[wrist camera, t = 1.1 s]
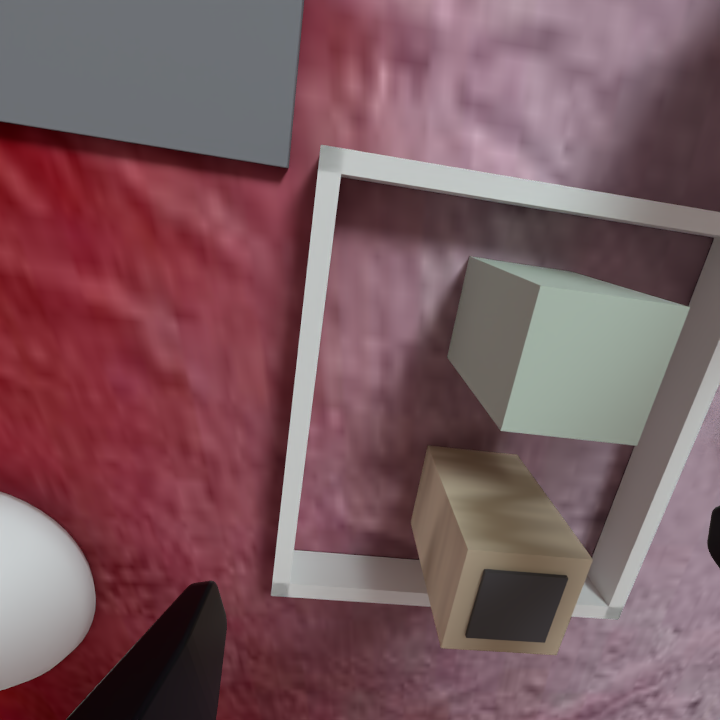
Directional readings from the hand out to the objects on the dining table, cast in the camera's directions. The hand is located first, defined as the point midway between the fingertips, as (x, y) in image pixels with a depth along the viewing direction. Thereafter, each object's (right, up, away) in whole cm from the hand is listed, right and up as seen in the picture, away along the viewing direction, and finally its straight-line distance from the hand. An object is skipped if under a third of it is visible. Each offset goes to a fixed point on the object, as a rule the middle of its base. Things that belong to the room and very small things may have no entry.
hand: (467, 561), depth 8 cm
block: (+5, +6, +12) cm, 14 cm away
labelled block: (+3, -3, +15) cm, 15 cm away
